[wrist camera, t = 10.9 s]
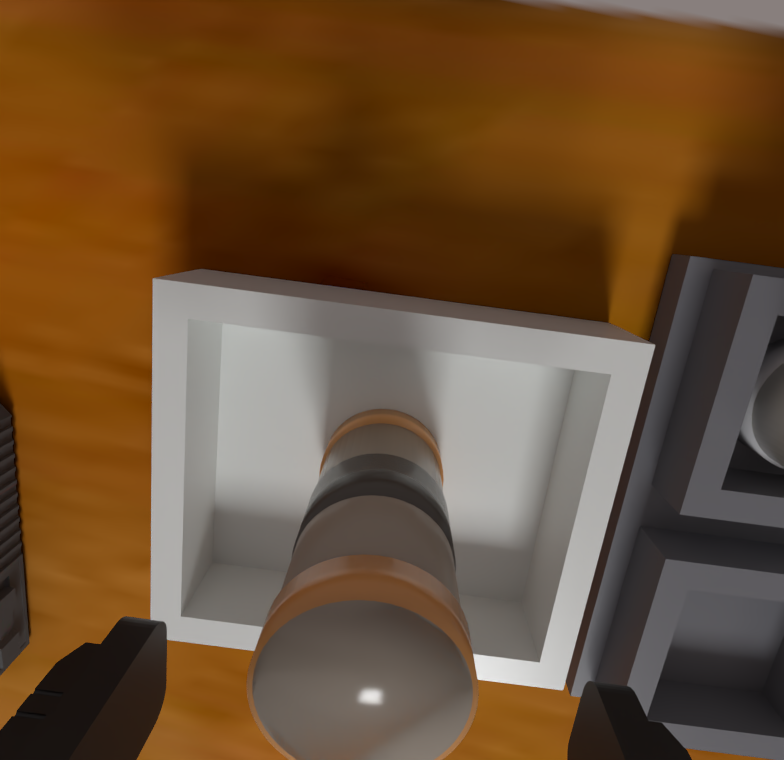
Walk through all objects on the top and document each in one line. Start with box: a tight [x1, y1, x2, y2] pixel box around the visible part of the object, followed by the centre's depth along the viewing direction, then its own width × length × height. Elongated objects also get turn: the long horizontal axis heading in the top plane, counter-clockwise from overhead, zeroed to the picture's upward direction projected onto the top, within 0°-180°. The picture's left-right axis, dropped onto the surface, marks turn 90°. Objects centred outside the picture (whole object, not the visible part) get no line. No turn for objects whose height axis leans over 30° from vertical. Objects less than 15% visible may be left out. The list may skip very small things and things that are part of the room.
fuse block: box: [566, 254, 784, 760], centre depth 19 cm, size 17×9×3 cm, turn 173°
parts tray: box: [151, 269, 655, 690], centre depth 18 cm, size 14×12×4 cm
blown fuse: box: [247, 409, 479, 760], centre depth 15 cm, size 4×4×10 cm
